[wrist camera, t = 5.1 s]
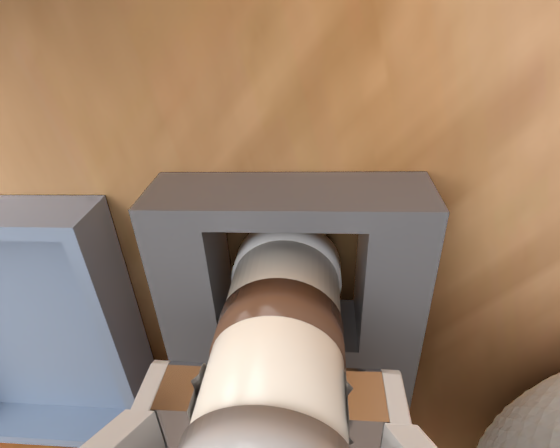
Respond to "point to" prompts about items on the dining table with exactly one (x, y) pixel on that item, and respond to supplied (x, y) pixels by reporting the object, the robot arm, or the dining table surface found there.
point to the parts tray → (65, 321)
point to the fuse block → (295, 219)
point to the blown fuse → (276, 351)
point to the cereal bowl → (528, 419)
